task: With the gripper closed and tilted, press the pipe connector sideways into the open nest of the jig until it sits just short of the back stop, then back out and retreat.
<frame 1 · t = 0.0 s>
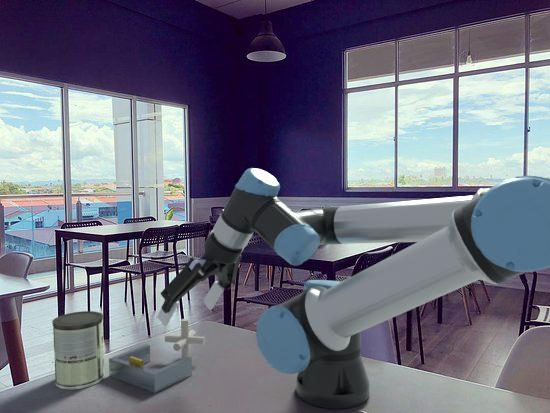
hand: (185, 312, 99), 15 cm above the table, tool tilted 35°, fingers open, 13 cm apart
coffee can: (80, 380, 101), on the table
pipe connector: (185, 360, 112), on the table
jig: (153, 374, 103), on the table
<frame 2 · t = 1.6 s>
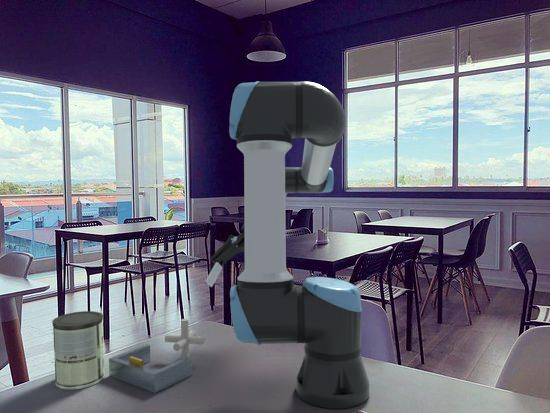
hand: (224, 286, 123), 15 cm above the table, tool tilted 45°, fingers open, 11 cm apart
nothing on the table moved.
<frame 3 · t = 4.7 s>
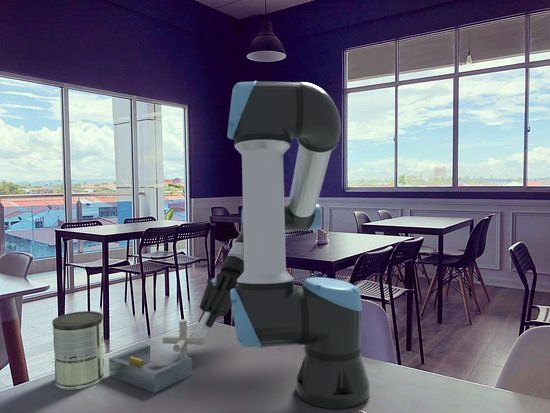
hand: (198, 336, 116), 4 cm above the table, tool tilted 45°, fingers closed
pipe connector: (183, 361, 111), on the table, touching gripper
everything else where it was.
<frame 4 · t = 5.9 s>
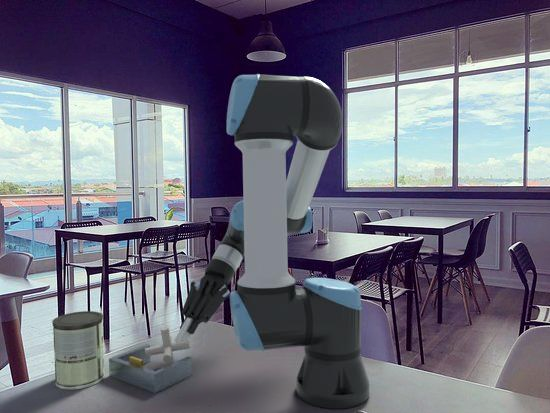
hand: (179, 343, 111), 4 cm above the table, tool tilted 45°, fingers closed
pipe connector: (170, 369, 106), on the table, touching gripper
everything else where it was.
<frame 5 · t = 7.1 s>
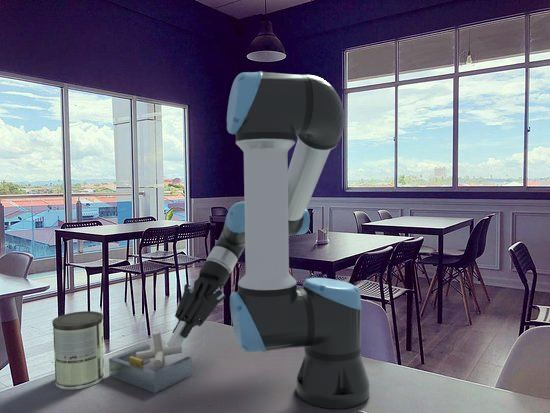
hand: (172, 347, 108), 4 cm above the table, tool tilted 45°, fingers closed
pipe connector: (162, 373, 104), on the table, touching gripper
everything else where it was.
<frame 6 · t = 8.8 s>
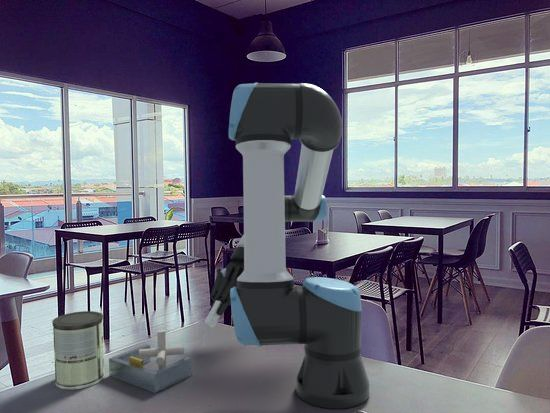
hand: (209, 324, 118), 6 cm above the table, tool tilted 45°, fingers closed
pipe connector: (162, 374, 104), on the table
everything else where it was.
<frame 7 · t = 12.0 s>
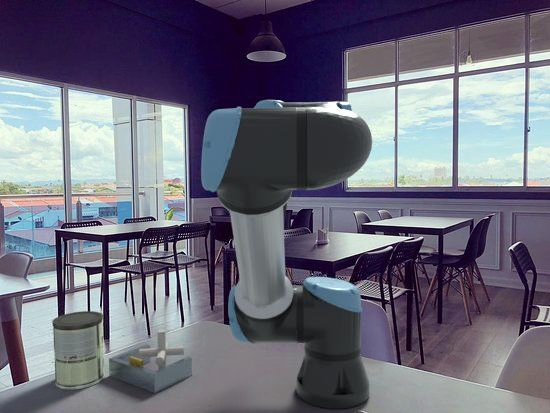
hand: (272, 258, 114), 24 cm above the table, tool pointing down, fingers closed
nothing on the table moved.
at the end: pipe connector 1.6 cm off-centre on the jig, point 0.0 cm above the jig's base; pipe connector moved 8.8 cm from its start; coffee can touching table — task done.
